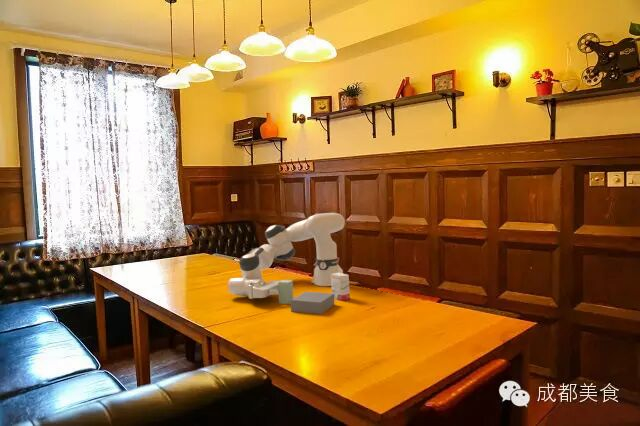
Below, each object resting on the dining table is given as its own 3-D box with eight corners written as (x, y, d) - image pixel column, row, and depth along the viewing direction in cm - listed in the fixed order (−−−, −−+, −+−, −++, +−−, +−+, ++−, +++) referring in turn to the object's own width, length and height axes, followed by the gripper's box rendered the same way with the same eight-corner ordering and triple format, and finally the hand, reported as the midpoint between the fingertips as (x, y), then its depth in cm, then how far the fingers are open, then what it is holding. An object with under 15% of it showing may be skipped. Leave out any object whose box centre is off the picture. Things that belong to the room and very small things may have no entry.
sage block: (283, 300, 211) (283, 279, 211) (293, 301, 209) (292, 280, 209) (278, 303, 207) (278, 282, 206) (288, 304, 205) (287, 282, 204)
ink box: (350, 299, 210) (349, 274, 209) (341, 301, 207) (341, 276, 207) (339, 296, 217) (339, 272, 217) (331, 297, 215) (330, 273, 214)
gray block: (306, 302, 207) (306, 291, 207) (334, 304, 202) (334, 293, 202) (291, 311, 193) (290, 300, 192) (320, 314, 187) (320, 302, 187)
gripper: (269, 289, 223) (293, 291, 218) (247, 299, 204) (273, 301, 199) (268, 277, 223) (293, 278, 217) (246, 285, 204) (273, 288, 198)
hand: (283, 289), depth 208 cm, fingers open, 8 cm apart
